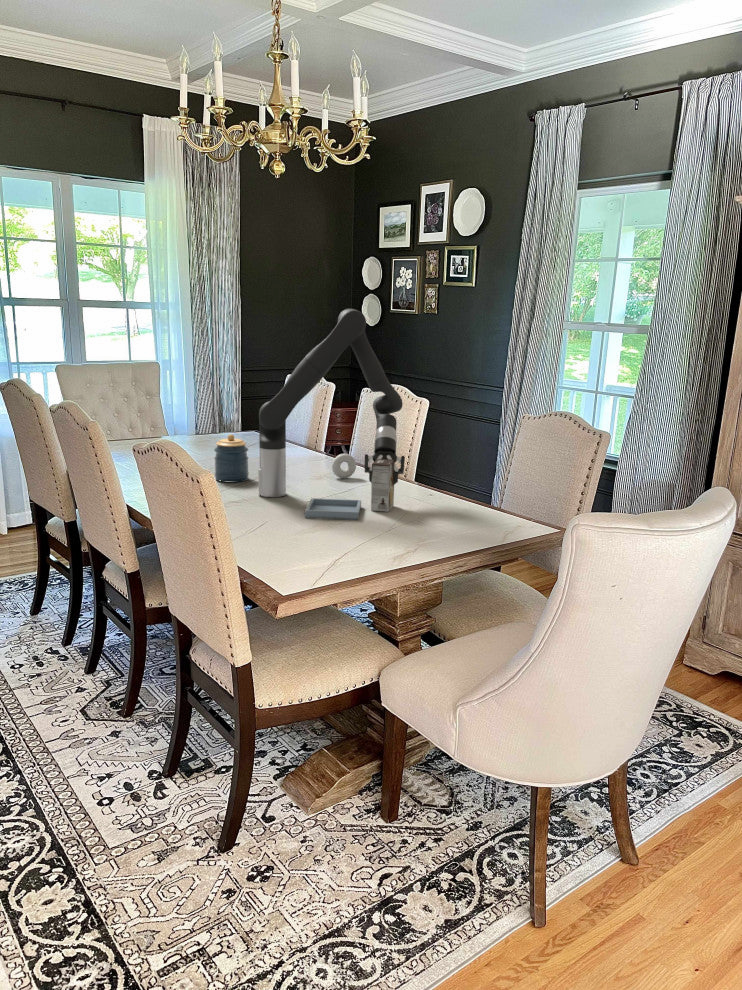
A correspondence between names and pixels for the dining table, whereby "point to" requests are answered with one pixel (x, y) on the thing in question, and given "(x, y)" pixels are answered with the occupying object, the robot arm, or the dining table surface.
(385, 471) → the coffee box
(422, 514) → the dining table surface
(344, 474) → the donut
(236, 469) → the canister
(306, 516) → the tray
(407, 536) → the dining table surface
